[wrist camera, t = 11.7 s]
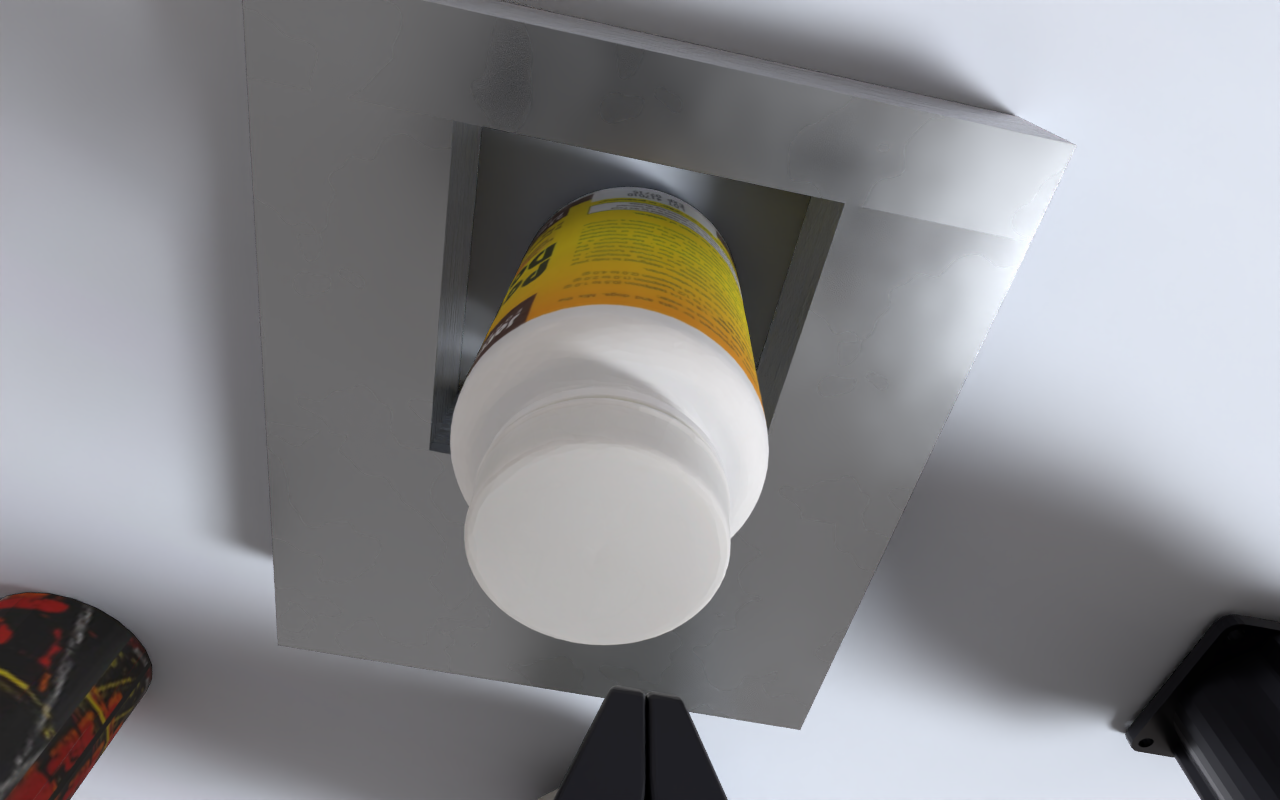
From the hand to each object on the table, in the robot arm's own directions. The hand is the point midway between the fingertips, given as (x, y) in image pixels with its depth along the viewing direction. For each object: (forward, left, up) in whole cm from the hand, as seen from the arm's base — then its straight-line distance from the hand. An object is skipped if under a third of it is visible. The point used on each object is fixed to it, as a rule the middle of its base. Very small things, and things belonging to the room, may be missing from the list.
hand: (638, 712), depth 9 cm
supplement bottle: (0, +1, -13) cm, 13 cm away
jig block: (-3, +1, -13) cm, 13 cm away
